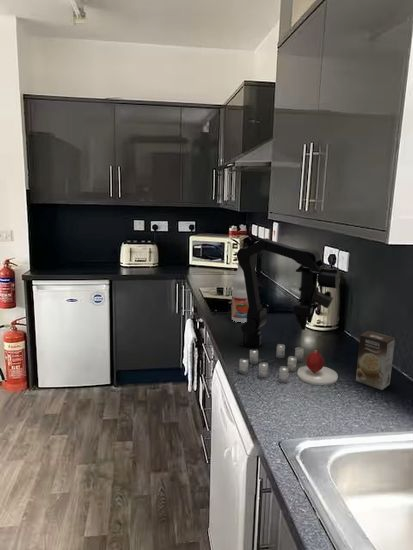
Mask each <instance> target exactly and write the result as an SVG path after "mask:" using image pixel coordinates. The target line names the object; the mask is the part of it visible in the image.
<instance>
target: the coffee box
mask: <svg viewBox="0 0 413 550" xmlns="http://www.w3.org/2000/svg"><path fill="white" fill-rule="evenodd" d="M395 339H396V337H393V336H390V335H386V334H384V333H379V332H375V331H372V330H367V331H365V332H363V333H362V334H360V335H359V342H358V343H359V344H358V355H357V356H358V357H357V366H356V375H355V381H356V382H357V383H360V384H364V385H367V386H370V387H372V388H375V389H378V390H381V391H383V390H384V389H386V388H387V387H388V386H390V383H391V375H392V368H393V359H394V352H395V351H394V350H395V344H396V343H395V341H396V340H395Z"/></svg>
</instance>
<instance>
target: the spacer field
mask: <svg viewBox="0 0 413 550" xmlns="http://www.w3.org/2000/svg"><path fill="white" fill-rule="evenodd" d="M285 349H286V345H285V344H282V343H278V344H276V352H275V353H276V354H275V355H276V356H275V357H276V358H277V359H280V360H281V359H285V353H286V352H285ZM294 350H295V351H294V356H293V355H290V356H287V366H285V365H283V366H279V368H278V369H279V374H278V382H279V383H281V384H287V383H289V374H290V373H295V372H296V371H297V363H302V362H304V351H305V349H304V348H303V347H300V346H299V347H295V348H294ZM258 362H259V350H258V349H257V348H251V349H249V358H245V357H242V358H240V359H239V367H238V368H239V370H238V371H239V372H240V373H241V375H248V374H249V364H251V365H257V364H258V378H260V379H268V378H269V363H268V362H264V361H261V362H259V363H258ZM240 373H239V374H240ZM247 373H248V374H247Z"/></svg>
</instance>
